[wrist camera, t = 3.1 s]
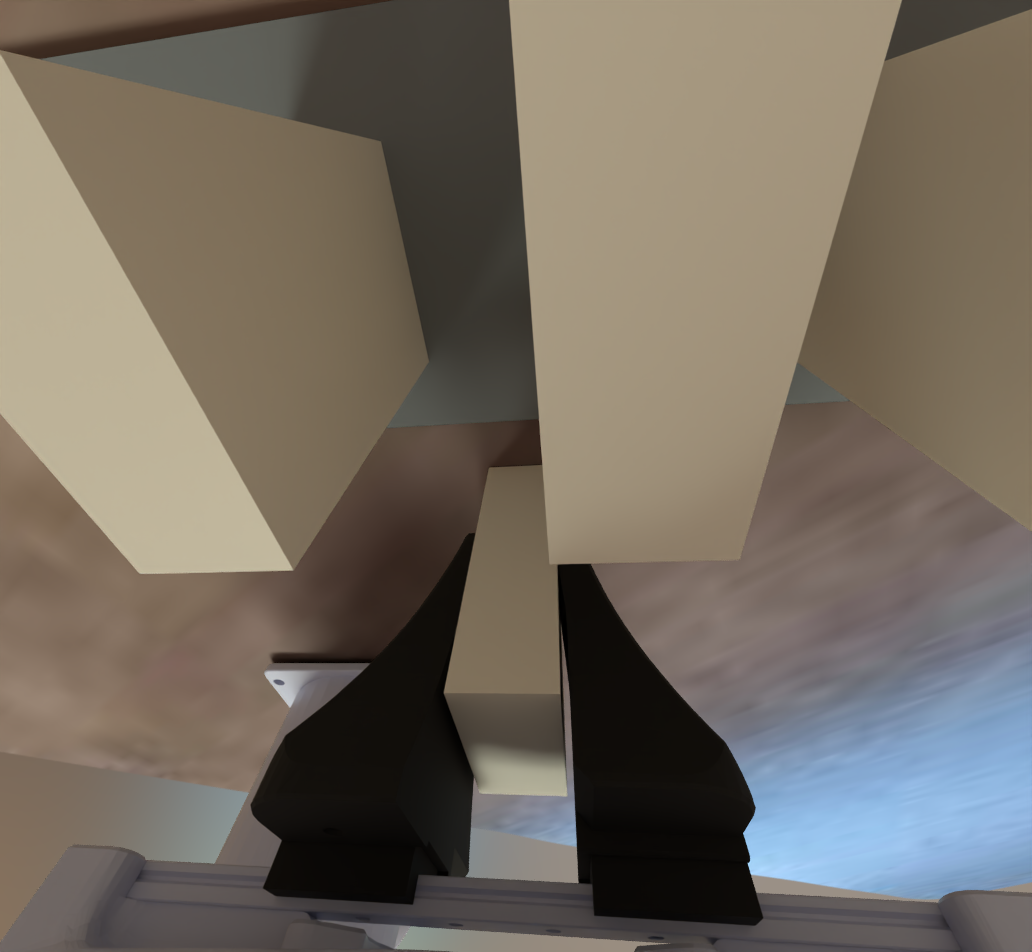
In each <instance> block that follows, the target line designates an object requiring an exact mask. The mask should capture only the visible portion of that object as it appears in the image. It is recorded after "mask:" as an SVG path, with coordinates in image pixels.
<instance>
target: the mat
mask: <svg viewBox="0 0 1032 952" xmlns="http://www.w3.org/2000/svg"><path fill="white" fill-rule="evenodd" d="M1030 9H1032V0H902V2H901V5H900V9H899V12H898V16H897V19H896V22H895V26H894V29H893V33H892V36H891V40H890V43H889V47H888V50H887V53H886V57H885V60H884V61H886V60H889V59H892V58H895V57H898V56H900V55H903V54H906V53H909V52H912V51H915V50H917V49H920V48H923V47H926V46H929V45H932V44H934V43H937V42H940V41H943V40H946V39H948V38H951V37H954V36H957V35H960V34H963V33H965V32H968V31H971V30H974V29H977V28H979V27H982V26H985V25H988V24H991V23H994V22H996V21H999V20H1002V19H1005V18H1008V17H1011V16H1013V15H1016V14H1019V13H1022V12H1025V11H1027V10H1030ZM40 60H44V61H48V62H52V63H56V64H61V65H65V66H69V67H73V68H77V69H81V70H86V71H90V72H94V73H98V74H102V75H106V76H111V77H115V78H119V79H123V80H127V81H131V82H136V83H140V84H144V85H148V86H152V87H156V88H161V89H165V90H169V91H173V92H177V93H181V94H186V95H190V96H194V97H198V98H202V99H206V100H211V101H215V102H219V103H223V104H227V105H231V106H236V107H240V108H244V109H248V110H252V111H256V112H261V113H265V114H269V115H273V116H277V117H281V118H286V119H290V120H294V121H298V122H302V123H306V124H311V125H315V126H319V127H323V128H327V129H331V130H336V131H340V132H344V133H348V134H352V135H356V136H361V137H365V138H369V139H373V140H377V141H381V144H382V148H383V153H384V157H385V162H386V166H387V171H388V176H389V180H390V185H391V189H392V194H393V199H394V203H395V208H396V212H397V217H398V222H399V226H400V231H401V235H402V240H403V244H404V249H405V254H406V258H407V263H408V267H409V272H410V277H411V281H412V286H413V290H414V295H415V300H416V304H417V309H418V313H419V318H420V323H421V327H422V332H423V336H424V341H425V345H426V350H427V355H428V359H429V363H428V364H427V366H426V367H425V369H424V370H423V372H422V373H421V375H420V376H419V378H418V379H417V381H416V383H415V384H414V386H413V387H412V389H411V390H410V392H409V393H408V395H407V396H406V398H405V400H404V401H403V403H402V404H401V406H400V407H399V409H398V410H397V412H396V413H395V415H394V416H393V418H392V420H391V421H390V423H389V424H388V426H387V427H386V428H397V427H414V426H431V425H448V424H465V423H482V422H499V421H516V420H533V419H539V411H538V397H537V383H536V369H535V355H534V341H533V327H532V313H531V299H530V286H529V272H528V258H527V244H526V230H525V216H524V202H523V188H522V174H521V160H520V146H519V132H518V119H517V105H516V91H515V77H514V63H513V49H512V35H511V21H510V7H509V0H393V1H386V2H380V3H374V4H368V5H362V6H356V7H350V8H344V9H338V10H332V11H326V12H320V13H314V14H308V15H302V16H296V17H290V18H284V19H278V20H272V21H266V22H260V23H254V24H248V25H242V26H236V27H230V28H224V29H218V30H212V31H206V32H200V33H194V34H188V35H182V36H176V37H170V38H164V39H158V40H152V41H146V42H140V43H134V44H128V45H122V46H116V47H110V48H104V49H98V50H92V51H86V52H80V53H74V54H68V55H62V56H56V57H50V58H44V59H40ZM840 401H850V400H849V399H847V398H846V397H844V396H843V395H842V394H840V393H839V392H838V391H836V390H835V389H833V388H832V387H831V386H829V385H828V384H826V383H825V382H824V381H822V380H821V379H820V378H818V377H817V376H815V375H814V374H813V373H811V372H810V371H808V370H807V369H806V368H804V367H803V366H802V365H800V364H799V363H797V364H796V368H795V371H794V375H793V378H792V381H791V385H790V388H789V392H788V395H787V399H786V402H785V405H789V404H806V403H823V402H840Z"/></svg>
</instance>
